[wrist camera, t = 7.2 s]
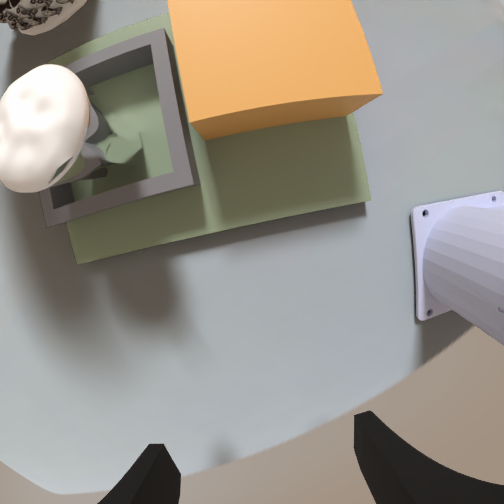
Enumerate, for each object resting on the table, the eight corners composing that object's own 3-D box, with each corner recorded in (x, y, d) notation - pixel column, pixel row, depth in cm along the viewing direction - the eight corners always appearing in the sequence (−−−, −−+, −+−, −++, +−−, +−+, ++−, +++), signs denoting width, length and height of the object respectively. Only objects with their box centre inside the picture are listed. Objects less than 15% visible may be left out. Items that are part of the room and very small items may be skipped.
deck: (311, -1, 15) (333, -54, 9) (364, 199, 18) (415, 207, 12) (53, 66, 15) (3, 40, 9) (84, 261, 18) (32, 290, 12)
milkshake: (131, 212, 16) (17, 246, 7) (70, 158, 16) (-56, 148, 6) (181, 147, 16) (103, 101, 6) (115, 95, 15) (10, 30, 5)
